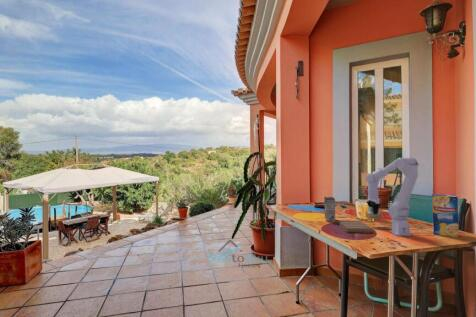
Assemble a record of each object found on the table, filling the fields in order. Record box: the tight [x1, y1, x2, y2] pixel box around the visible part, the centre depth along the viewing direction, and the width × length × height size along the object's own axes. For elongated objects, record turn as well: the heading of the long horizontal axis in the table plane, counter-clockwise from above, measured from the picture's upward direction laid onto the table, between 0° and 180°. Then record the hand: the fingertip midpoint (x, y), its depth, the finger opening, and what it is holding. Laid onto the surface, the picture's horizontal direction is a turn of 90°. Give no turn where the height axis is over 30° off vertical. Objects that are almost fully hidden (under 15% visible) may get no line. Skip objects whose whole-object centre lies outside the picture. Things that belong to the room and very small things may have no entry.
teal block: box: [367, 206, 380, 212], centre depth 164 cm, size 4×5×2 cm
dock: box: [338, 219, 373, 234], centre depth 160 cm, size 20×14×2 cm
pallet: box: [365, 210, 383, 220], centre depth 164 cm, size 5×8×4 cm, turn 82°
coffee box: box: [323, 196, 336, 222], centre depth 183 cm, size 9×6×16 cm
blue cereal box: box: [431, 193, 460, 238], centre depth 143 cm, size 7×11×22 cm, turn 54°
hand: (373, 213), depth 164 cm, fingers closed on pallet, 5 cm apart
